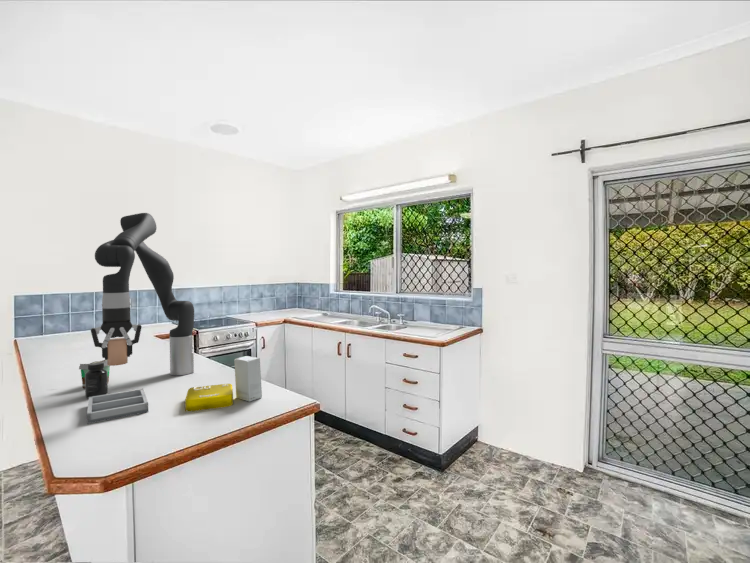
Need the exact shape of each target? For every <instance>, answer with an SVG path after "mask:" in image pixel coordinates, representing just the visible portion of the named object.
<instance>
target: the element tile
mask: <svg viewBox="0 0 750 563" xmlns="http://www.w3.org/2000/svg"><path fill="white" fill-rule="evenodd" d="M233 391H234V388H233V384H232V383H221V384H214V385H213V384H212V385H203V386H202V385H201V386H200V385H198V386H195V387H189V388H188V390H187V393H186V396H185V399H184V403H185V404H184V405H185V406H184V407H185V412H197V411H198V412H199V411H205V410H212V409H213V410H214V409H219V408H221V409H222V408H226V407H227V408H228V407H232V406H233V405H234V392H233Z"/></svg>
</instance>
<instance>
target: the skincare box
mask: <svg viewBox="0 0 750 563" xmlns="http://www.w3.org/2000/svg"><path fill="white" fill-rule="evenodd" d="M233 364H234V380H235V398H236V399H240V400H243V401H246V402H253V401H255V400H258V399H261V398H263V397H262V396H263V391H262V388H263V387H262V376H261V374H262V373H261V372H262V371H261V358H260V357H255V356H249V355H246V356H240V357H237V358H235V359H234V362H233Z"/></svg>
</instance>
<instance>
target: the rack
mask: <svg viewBox="0 0 750 563" xmlns="http://www.w3.org/2000/svg"><path fill="white" fill-rule="evenodd" d="M87 401H88V403H87V411H86V413H87V414H86V416H87V417H86V419H87V421H86V422H87V423H86V424H87V425H89V424H92V423H94V424H95V423H97V422H105V421H109V420H114V419H119V418H124V417H129V416H134V415H139V414H144V413H149V401H148V399H147V396H146V393H145V389H144V388H139V389H138V388H137V389H132V390H125V391H119V392H112V393H107V394H106V395H99V396H93V397H89V398H88V400H87Z"/></svg>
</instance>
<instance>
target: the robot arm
mask: <svg viewBox="0 0 750 563" xmlns="http://www.w3.org/2000/svg"><path fill="white" fill-rule="evenodd" d="M119 221H120V222H119V223H120V226H121V230H122V232H120V233H118V234H117V235H116V236H115V237H114V238H113V239H112V240H109V241H107V242H104V243H102V244H100V245H99V246H98V247H97V248H96V250H95V251H94V259H95V262H96V263H97V264H98V265H99V266H101V267H104V268H119V270H118V271H117V272H115V273H110V274H106V275H104V276H103V277H102V297H101V298H102V299H101V307H102V312H101V315H102V319H101V320H102V324H101V326H98V327H92V328H91V329H90V334H91V336H92V342H93V345H94V347H97V348H101V357H102V359H104V360H106V359H107V344H108V341H109V340H110V339H114V338H125V339H126V342H127V357H128V358H130V357H131V356H132V355H133V345H135V344H138V343H139V341H140V336H141V332H142V329H143V328H142V325H141V324H140V323H139V324H133V323H132V322H131V297H130V276H131V273H132V272H131V271H132V269H133V265H134V263H135V259H136V255H137V256H138V259H139V261H140V262H141V265H142V268H144V271H145V274H147V277H148V279H149V280H150V282H151V284H152V286H153V288H154V290H155V292H156V296H157V297H158V300H159V302H160V305H161V307H162V310H163V313H164V315H165V317H166V319H168V320H170V321H174V322H178V323H177V324H178V325H177V326H176V327H175V328H172V329H170V330H169V375H170V376H185V375H189V374H193V373H195V369H194V368H195V366H194V365H195V363H194V361H195V360H194V358H195V357H194V355H195V354H194V352H193V331H194V328H195V307H194V304H193V302H192V301H189V300H177V299H176V297H175V296H174V293H173V291H172V290H173V288H172V287H173V283H174V279H175V278H174V272H173V270H172V268H171V266H170V263H169V262H168V260H167V259H166V258H165V257H164V256H162V255H161V254H159V253H158V252H156V251H154V250H153V249H151V248H150V247H149V246H148V245H147V244H146V243H145V242H144V241H145V240H147V239H148V238H149V237H151V236H153V235H154V234H155V233H156V232H157V222H156V220H155V218H154V216H153V215H152V214H151V213H148V212H139V213H134V214H130V215H125V216H122V217H121V218H120V220H119ZM131 329H133V331H134V332H135V333H134V339H131V338H130V336H129V334H128V333H129V332H130V331H131ZM100 331H102V332H103V333H104V334H105V337H104V339H103V342H100V340H99V337H98V335H99V334H100Z"/></svg>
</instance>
